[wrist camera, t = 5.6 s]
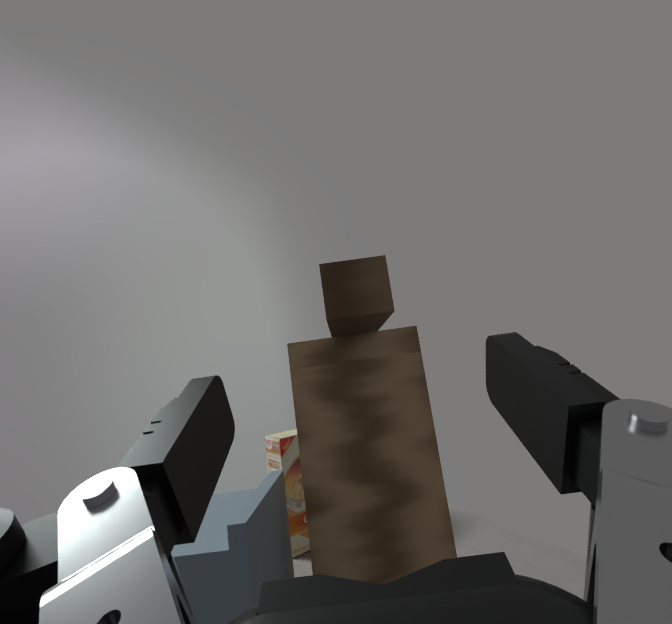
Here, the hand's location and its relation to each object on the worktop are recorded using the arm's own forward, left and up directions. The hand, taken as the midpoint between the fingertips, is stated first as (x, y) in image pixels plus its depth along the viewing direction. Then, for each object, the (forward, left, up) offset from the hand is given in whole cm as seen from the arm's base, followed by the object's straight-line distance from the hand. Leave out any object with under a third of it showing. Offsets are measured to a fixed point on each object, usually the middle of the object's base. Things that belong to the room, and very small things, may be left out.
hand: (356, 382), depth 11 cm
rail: (0, +19, +3) cm, 19 cm away
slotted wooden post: (0, +21, -29) cm, 36 cm away
